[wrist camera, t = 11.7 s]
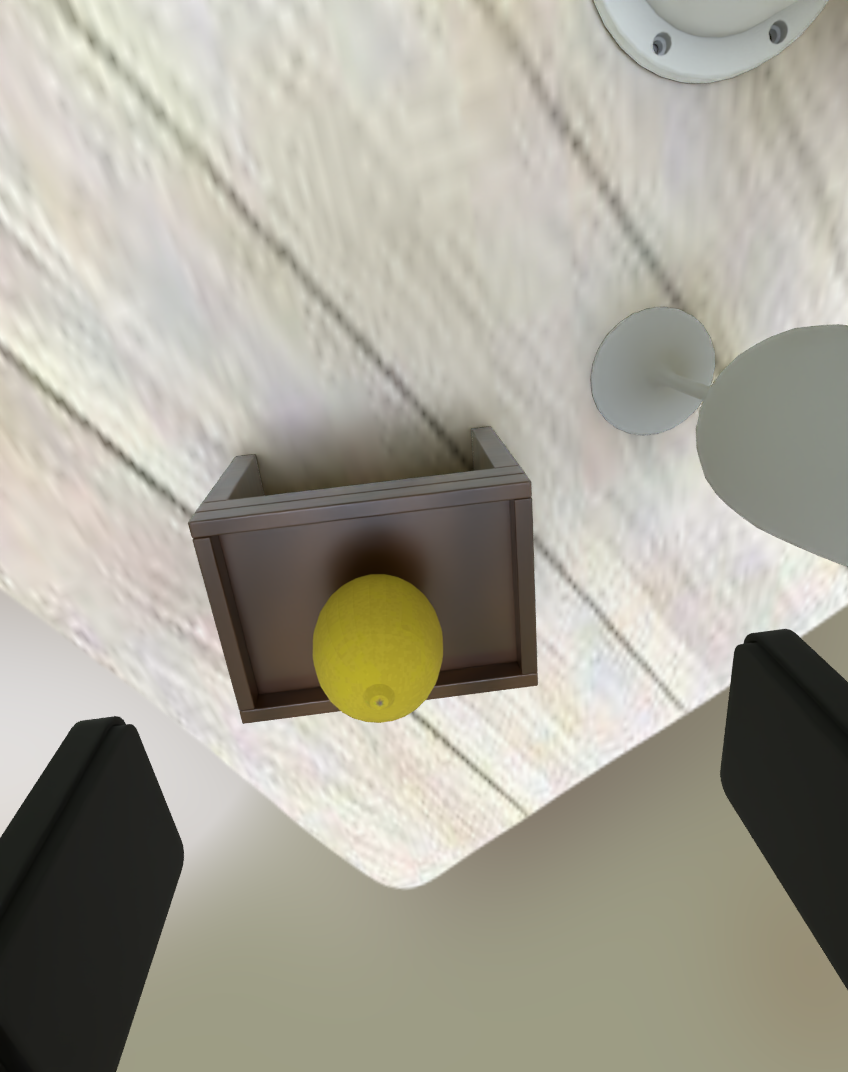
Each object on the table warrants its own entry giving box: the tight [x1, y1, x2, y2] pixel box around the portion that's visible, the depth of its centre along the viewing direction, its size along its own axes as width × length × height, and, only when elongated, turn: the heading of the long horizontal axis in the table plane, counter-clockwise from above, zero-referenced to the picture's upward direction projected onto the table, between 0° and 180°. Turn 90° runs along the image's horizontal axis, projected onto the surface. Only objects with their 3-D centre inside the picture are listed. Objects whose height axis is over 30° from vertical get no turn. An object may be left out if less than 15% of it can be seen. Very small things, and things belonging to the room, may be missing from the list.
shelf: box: [188, 427, 538, 724], centre depth 34 cm, size 15×11×10 cm
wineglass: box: [591, 307, 848, 567], centre depth 26 cm, size 8×8×21 cm
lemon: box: [313, 574, 443, 723], centre depth 27 cm, size 6×6×8 cm
